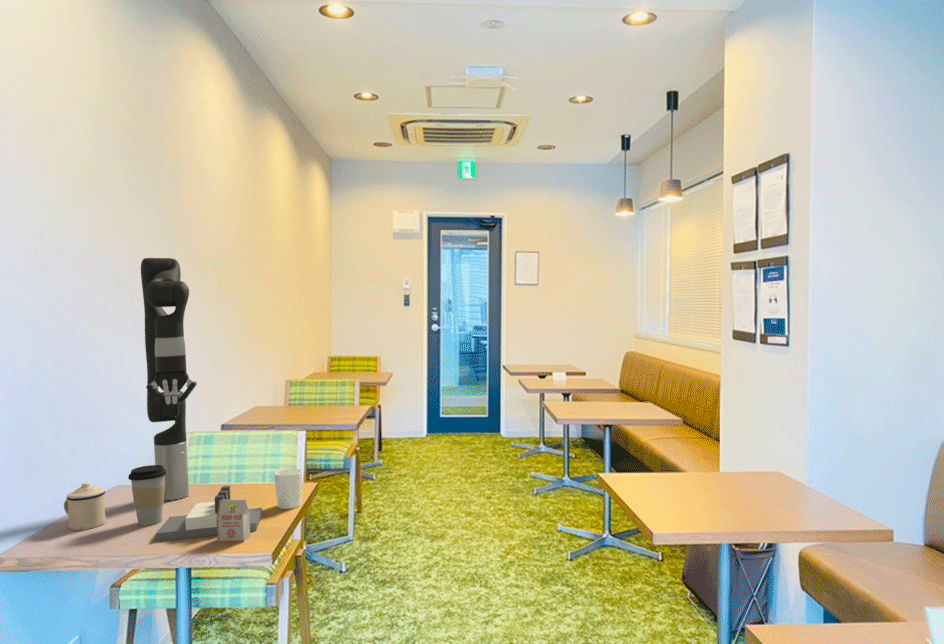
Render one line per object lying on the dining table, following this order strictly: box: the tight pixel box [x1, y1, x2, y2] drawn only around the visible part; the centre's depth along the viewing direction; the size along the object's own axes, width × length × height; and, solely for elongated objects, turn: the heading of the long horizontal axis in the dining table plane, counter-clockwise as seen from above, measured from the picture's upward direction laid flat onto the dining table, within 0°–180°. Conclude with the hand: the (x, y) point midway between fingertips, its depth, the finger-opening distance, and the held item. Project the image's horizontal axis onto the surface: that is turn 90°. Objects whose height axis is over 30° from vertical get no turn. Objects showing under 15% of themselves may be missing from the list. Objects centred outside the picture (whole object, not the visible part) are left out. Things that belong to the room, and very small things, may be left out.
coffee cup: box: [127, 464, 167, 527], centre depth 173 cm, size 9×9×15 cm
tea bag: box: [217, 499, 251, 543], centre depth 157 cm, size 4×7×10 cm, turn 85°
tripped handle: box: [217, 489, 228, 500], centre depth 167 cm, size 2×2×4 cm
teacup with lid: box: [63, 482, 107, 531], centre depth 173 cm, size 12×9×12 cm
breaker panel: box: [155, 485, 263, 542], centre depth 167 cm, size 13×24×9 cm, turn 102°
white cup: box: [274, 468, 303, 510], centre depth 183 cm, size 8×8×10 cm
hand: (173, 417), depth 171 cm, fingers closed
